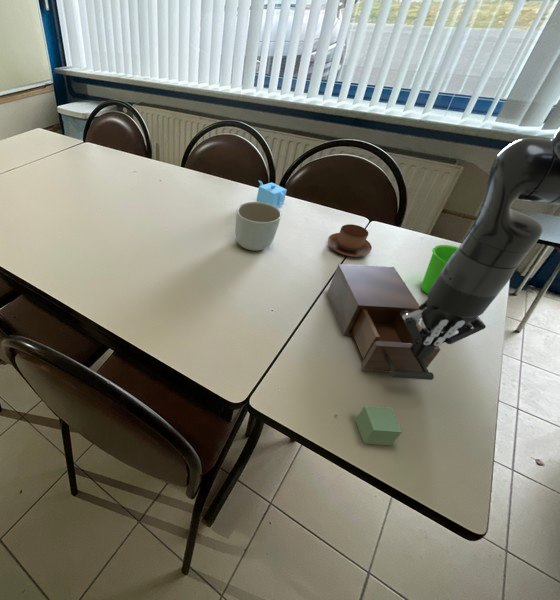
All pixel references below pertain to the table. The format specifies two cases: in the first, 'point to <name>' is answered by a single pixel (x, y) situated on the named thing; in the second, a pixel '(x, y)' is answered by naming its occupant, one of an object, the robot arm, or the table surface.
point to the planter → (256, 225)
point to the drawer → (389, 345)
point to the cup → (436, 265)
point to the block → (378, 425)
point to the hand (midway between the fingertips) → (417, 354)
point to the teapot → (271, 194)
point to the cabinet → (367, 292)
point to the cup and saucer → (350, 241)
